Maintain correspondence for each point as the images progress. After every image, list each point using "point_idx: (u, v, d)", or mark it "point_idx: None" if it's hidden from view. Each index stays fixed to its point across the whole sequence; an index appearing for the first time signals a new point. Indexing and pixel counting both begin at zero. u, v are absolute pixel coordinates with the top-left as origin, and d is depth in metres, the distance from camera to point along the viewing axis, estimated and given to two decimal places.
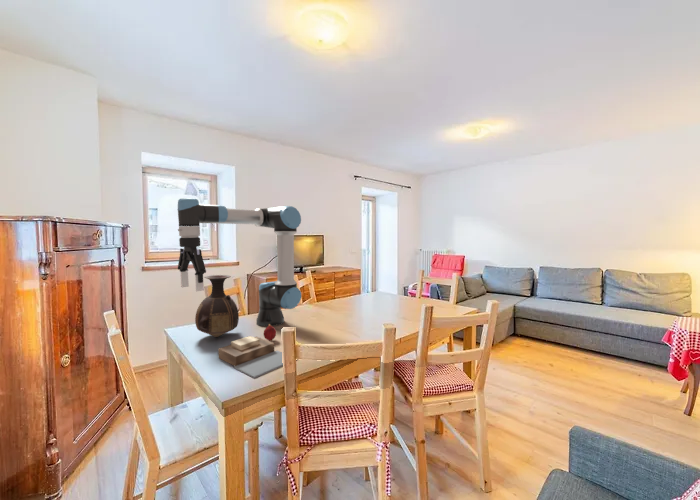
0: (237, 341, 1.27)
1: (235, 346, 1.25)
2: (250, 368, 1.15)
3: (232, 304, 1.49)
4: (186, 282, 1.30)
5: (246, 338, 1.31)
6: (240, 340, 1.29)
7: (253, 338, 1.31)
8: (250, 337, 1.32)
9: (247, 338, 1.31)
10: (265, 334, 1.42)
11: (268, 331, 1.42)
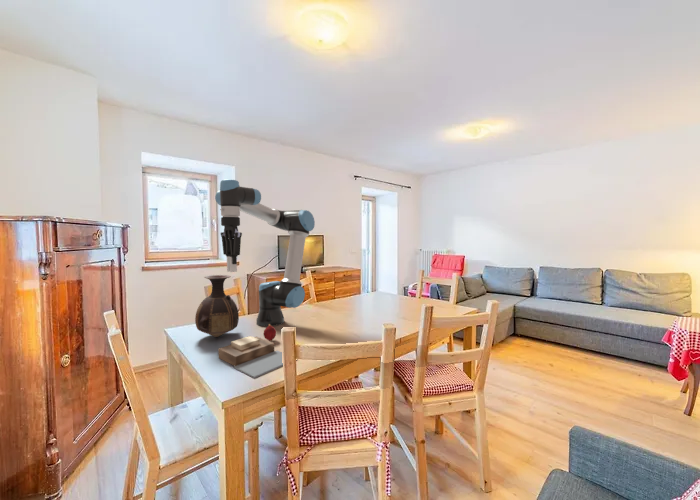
0: (237, 341, 1.27)
1: (235, 346, 1.25)
2: (250, 368, 1.15)
3: (232, 304, 1.49)
4: None
5: (246, 338, 1.31)
6: (240, 340, 1.29)
7: (253, 338, 1.31)
8: (250, 337, 1.32)
9: (247, 338, 1.31)
10: (265, 334, 1.42)
11: (268, 331, 1.42)
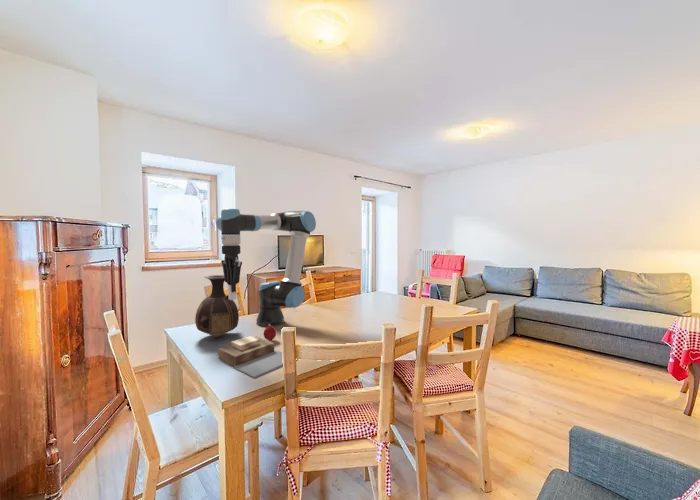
0: (237, 341, 1.27)
1: (235, 346, 1.25)
2: (250, 368, 1.15)
3: (232, 304, 1.49)
4: None
5: (246, 338, 1.31)
6: (240, 340, 1.29)
7: (253, 338, 1.31)
8: (250, 337, 1.32)
9: (247, 338, 1.31)
10: (265, 334, 1.42)
11: (268, 331, 1.42)
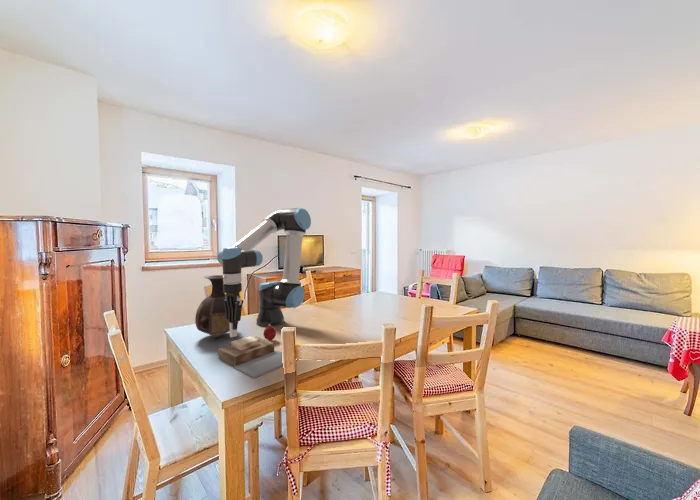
0: (237, 341, 1.27)
1: (235, 346, 1.25)
2: (250, 368, 1.15)
3: None
4: None
5: (246, 338, 1.31)
6: (240, 340, 1.29)
7: (253, 338, 1.31)
8: (250, 337, 1.32)
9: (247, 338, 1.31)
10: (265, 334, 1.42)
11: (268, 331, 1.42)
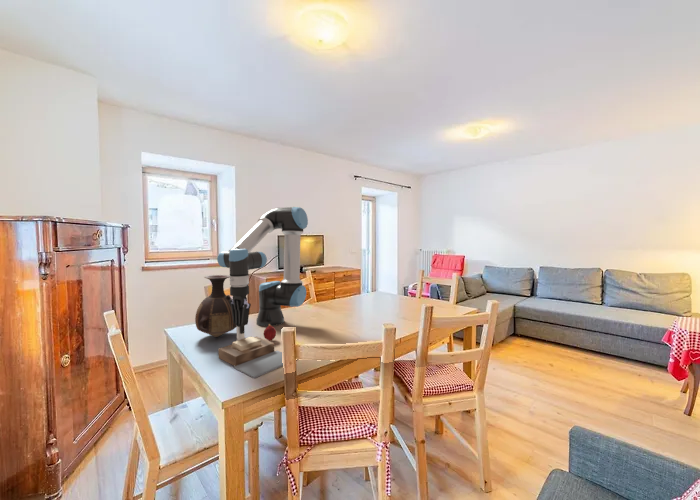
0: (239, 342, 1.27)
1: (236, 347, 1.25)
2: (250, 368, 1.15)
3: None
4: None
5: (247, 339, 1.30)
6: (241, 341, 1.28)
7: (254, 339, 1.30)
8: (251, 338, 1.32)
9: (248, 339, 1.30)
10: (265, 334, 1.42)
11: (268, 331, 1.42)
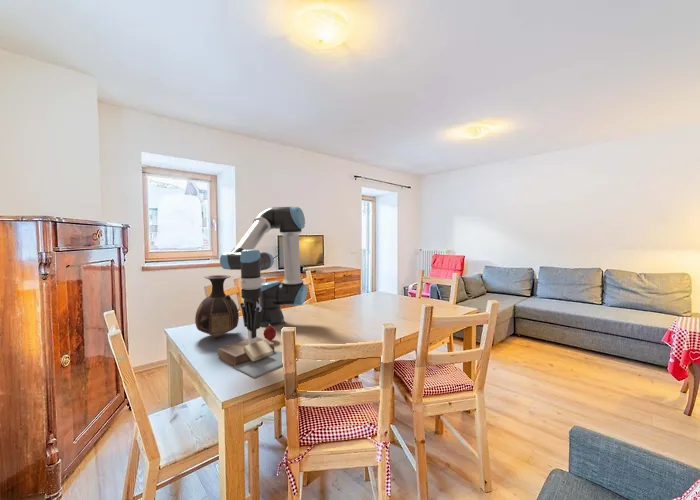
0: (251, 348, 1.21)
1: (248, 354, 1.19)
2: (250, 368, 1.15)
3: (232, 304, 1.49)
4: None
5: (260, 344, 1.25)
6: (254, 346, 1.22)
7: (267, 346, 1.25)
8: (264, 343, 1.26)
9: (261, 344, 1.25)
10: (265, 334, 1.42)
11: (268, 331, 1.42)
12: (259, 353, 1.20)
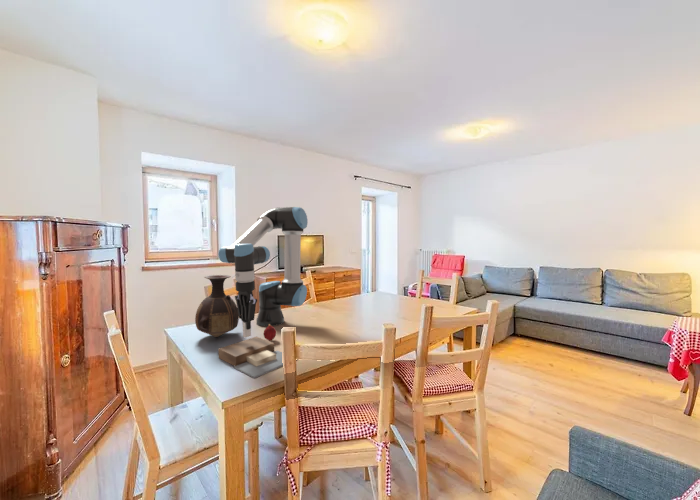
0: (253, 356, 1.21)
1: (251, 361, 1.19)
2: (250, 368, 1.15)
3: (232, 304, 1.49)
4: None
5: (262, 352, 1.24)
6: (256, 355, 1.22)
7: (269, 352, 1.24)
8: (266, 351, 1.25)
9: (263, 352, 1.24)
10: (265, 334, 1.42)
11: (268, 331, 1.42)
12: (262, 358, 1.19)
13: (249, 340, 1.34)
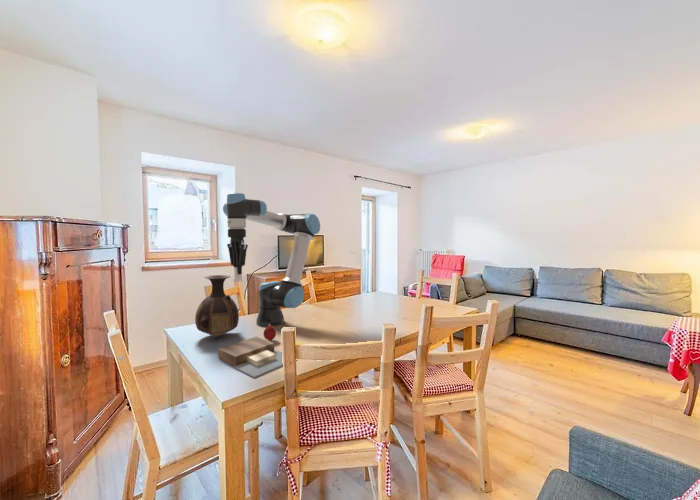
0: (253, 356, 1.21)
1: (251, 361, 1.19)
2: (250, 368, 1.15)
3: (232, 304, 1.49)
4: None
5: (262, 352, 1.24)
6: (256, 355, 1.22)
7: (269, 352, 1.24)
8: (266, 351, 1.25)
9: (263, 352, 1.24)
10: (265, 334, 1.42)
11: (268, 331, 1.42)
12: (262, 358, 1.19)
13: (249, 340, 1.34)
